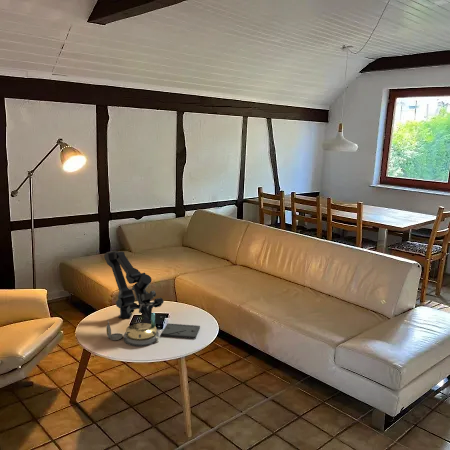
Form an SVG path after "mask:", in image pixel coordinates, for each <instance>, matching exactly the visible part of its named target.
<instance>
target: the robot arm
mask: <svg viewBox="0 0 450 450" xmlns="http://www.w3.org/2000/svg"><path fill="white" fill-rule="evenodd" d="M103 257H104V260H105V262H106V264H107V265H108V266H109V267H110V268H111V270H112V272H113V276H114V279H115V282H116V285H117V287H118V291H119V292H118V295H117V298H118V299H117V300H116V302H115V306H116V307H117V308H118V309H119V313H120V314H119V316H118V319H131V318H132V316H133V313H134V312H135V310H138V313H140V314H141V315H143V316H144V317H145V318H146V319H148V321H150V322H151V313H153V308H155V309H156V308H160V307H161V306H162V305H163V304H164V303H165V301H164V299H163V297H157V298H154V297H156V296H157V293H156V291H155V290H151V291H149V292H148V291H147V288H148V287H149V285H150V284H151V283H152V279H153V278H152V277H151V276H150V275H149V274H147V273H145V272H141V271H140V270H138V269H139V268H136V267H134V266H133V265H132V264H131V262H130V261H129V259H128V257H127V256H126V254H125V251H123V250H121V251H118V250H113V251H106V252H105V254H104V255H103ZM123 272H124V273H125V275H124V273H123ZM126 281H127V282H126ZM127 283H128V284H130V285H132V288H131V289H130V288H128V285H127ZM133 291H134V292H133ZM152 300H153V301H152ZM135 301H137V302H135Z"/></svg>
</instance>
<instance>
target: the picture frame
mask: <svg viewBox="0 0 450 450" xmlns="http://www.w3.org/2000/svg"><path fill="white" fill-rule="evenodd" d="M200 328H201V325H196V324H194V325H193V324H181V323H180V324H179V323H166V326H165V327H164V329H163V330H162V332H161V333H160V337H164V338H165V337H166V338H176V339H177V338H179V339H188V340H196V338H197V336H198V334H199V331H200Z"/></svg>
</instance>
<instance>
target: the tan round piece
mask: <svg viewBox="0 0 450 450" xmlns="http://www.w3.org/2000/svg"><path fill="white" fill-rule="evenodd" d="M157 331H158V329H157V327H156V312H152V313H151V321H150V323H147V322H140V323H134V324H132V325H128V327H126V329H125V332H126V336H127V338H129V339H131V340H136V341H143V340H148V339H151V338H153V337H155V336H156V334H157Z"/></svg>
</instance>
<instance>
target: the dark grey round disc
mask: <svg viewBox="0 0 450 450" xmlns="http://www.w3.org/2000/svg"><path fill="white" fill-rule="evenodd" d="M159 340H160V336H159V331H158V330H157V334H156V336H155V337H153V338H151V339H148V340H143V341H136V340H131V339H129V338H127V336H126V331H125V332H124V335H123V341H124V343H125V344H126V345H128V346H130V347H131V346H132V347H146V346H147V347H148V346H150V345H151V346H152V345H153V344H155V343H159Z"/></svg>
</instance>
